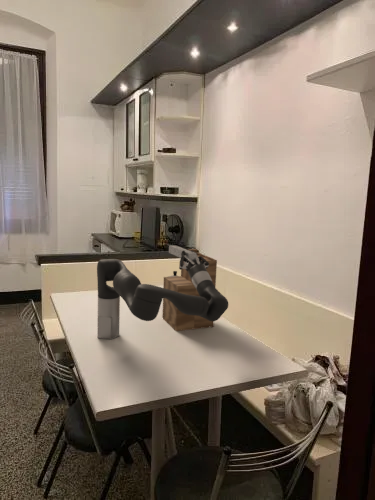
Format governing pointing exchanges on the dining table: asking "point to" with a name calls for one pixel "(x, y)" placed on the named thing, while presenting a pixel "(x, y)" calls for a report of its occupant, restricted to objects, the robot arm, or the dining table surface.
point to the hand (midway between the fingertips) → (187, 251)
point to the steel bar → (178, 250)
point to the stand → (186, 286)
